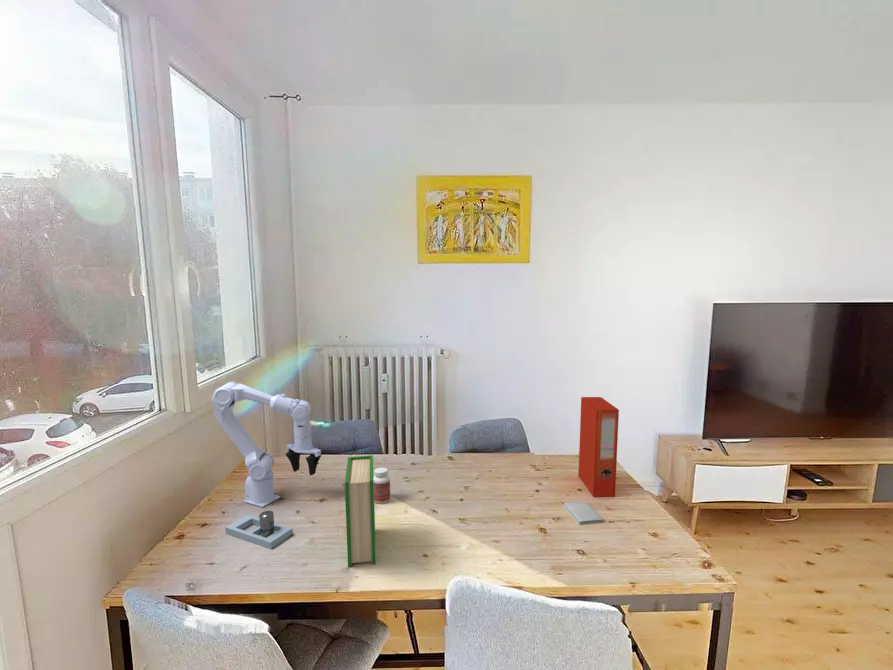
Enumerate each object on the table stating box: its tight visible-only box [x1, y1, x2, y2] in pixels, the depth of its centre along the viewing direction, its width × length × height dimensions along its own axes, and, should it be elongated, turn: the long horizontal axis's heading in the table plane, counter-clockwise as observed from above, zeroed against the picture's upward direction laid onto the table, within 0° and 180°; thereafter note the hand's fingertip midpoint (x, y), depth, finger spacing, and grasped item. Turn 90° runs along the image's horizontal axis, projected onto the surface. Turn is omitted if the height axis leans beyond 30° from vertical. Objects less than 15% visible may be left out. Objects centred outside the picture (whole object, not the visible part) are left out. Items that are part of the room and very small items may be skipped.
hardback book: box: [344, 454, 377, 568], centre depth 127 cm, size 18×7×24 cm, turn 10°
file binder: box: [578, 396, 620, 498], centre depth 164 cm, size 8×17×32 cm, turn 1°
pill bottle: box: [373, 467, 391, 505], centre depth 156 cm, size 6×6×11 cm
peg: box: [258, 510, 275, 538], centre depth 134 cm, size 4×4×7 cm
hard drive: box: [562, 500, 605, 526], centre depth 146 cm, size 2×8×12 cm
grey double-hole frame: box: [225, 514, 294, 550], centre depth 136 cm, size 19×8×2 cm, turn 64°
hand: (304, 472), depth 158 cm, fingers open, 7 cm apart
